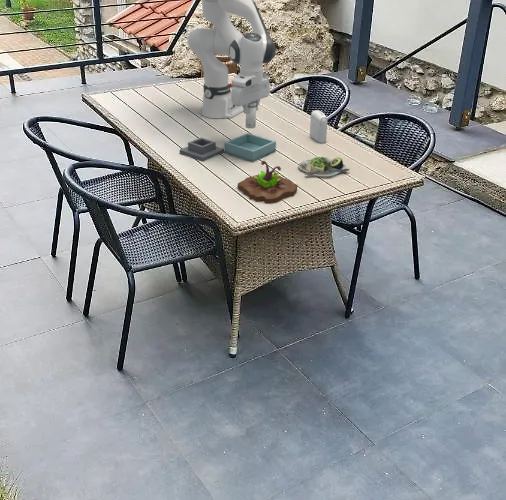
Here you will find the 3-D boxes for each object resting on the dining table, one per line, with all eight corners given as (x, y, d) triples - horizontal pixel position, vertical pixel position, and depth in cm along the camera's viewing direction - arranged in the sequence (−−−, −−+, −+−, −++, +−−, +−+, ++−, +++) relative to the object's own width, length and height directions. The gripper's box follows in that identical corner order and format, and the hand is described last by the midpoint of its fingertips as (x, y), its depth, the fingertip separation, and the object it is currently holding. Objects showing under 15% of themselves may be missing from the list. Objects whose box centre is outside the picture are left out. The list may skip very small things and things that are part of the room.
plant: (268, 175, 251) (269, 148, 246) (305, 192, 239) (307, 163, 233) (228, 189, 240) (229, 160, 234) (265, 207, 227) (266, 178, 222)
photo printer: (308, 135, 289) (310, 108, 283) (317, 134, 290) (319, 107, 284) (318, 143, 281) (320, 116, 274) (327, 142, 282) (329, 115, 276)
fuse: (249, 124, 267) (250, 100, 262) (257, 126, 265) (258, 102, 260) (243, 126, 264) (244, 102, 259) (251, 129, 262) (251, 104, 257)
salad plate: (320, 185, 245) (321, 173, 242) (287, 170, 256) (287, 159, 253) (354, 172, 256) (355, 161, 254) (320, 158, 267) (321, 147, 265)
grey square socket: (201, 144, 277) (200, 134, 274) (224, 152, 270) (224, 141, 268) (179, 153, 268) (179, 142, 266) (203, 161, 261) (203, 150, 259)
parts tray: (247, 143, 279) (247, 132, 277) (275, 151, 272) (276, 141, 269) (224, 152, 269) (224, 142, 267) (253, 162, 261) (253, 151, 259)
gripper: (261, 71, 264) (260, 104, 270) (228, 80, 249) (228, 116, 256) (274, 73, 260) (272, 107, 267) (241, 84, 246) (240, 119, 253)
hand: (250, 112), depth 261 cm, fingers closed on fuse, 4 cm apart
